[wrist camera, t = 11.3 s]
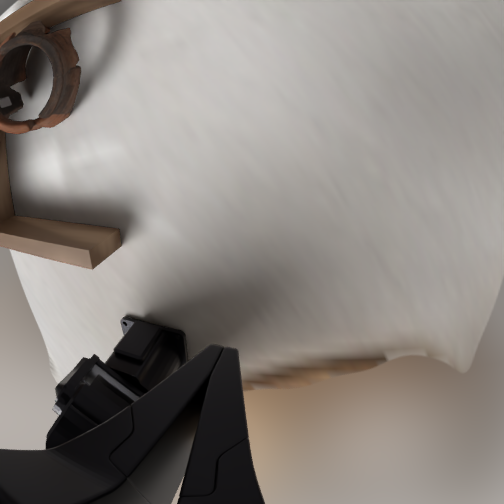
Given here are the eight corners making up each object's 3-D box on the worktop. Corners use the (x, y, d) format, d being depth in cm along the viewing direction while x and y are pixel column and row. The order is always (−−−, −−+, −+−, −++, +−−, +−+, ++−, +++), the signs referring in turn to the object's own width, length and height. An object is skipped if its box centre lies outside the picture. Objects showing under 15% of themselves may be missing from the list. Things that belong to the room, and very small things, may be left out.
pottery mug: (72, -1, 14) (35, -6, 9) (120, 75, 21) (100, 95, 15) (-18, 85, 16) (-66, 114, 10) (28, 149, 23) (-6, 192, 17)
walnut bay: (121, 246, 23) (48, 308, 15) (10, 227, 25) (-48, 263, 17) (123, -15, 13) (38, -48, 5) (2, 41, 16) (-65, 46, 8)
